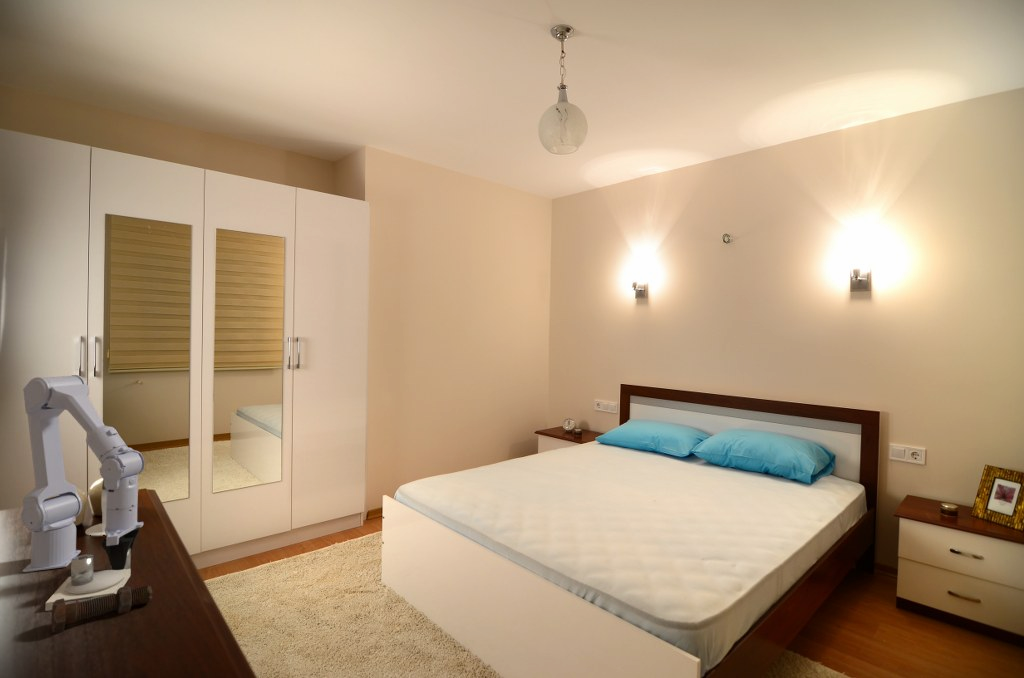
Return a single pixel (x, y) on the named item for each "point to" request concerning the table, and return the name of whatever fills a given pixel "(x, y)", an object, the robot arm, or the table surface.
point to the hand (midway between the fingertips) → (121, 565)
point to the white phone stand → (100, 528)
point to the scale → (91, 587)
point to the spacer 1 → (82, 570)
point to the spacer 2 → (127, 565)
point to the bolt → (98, 606)
